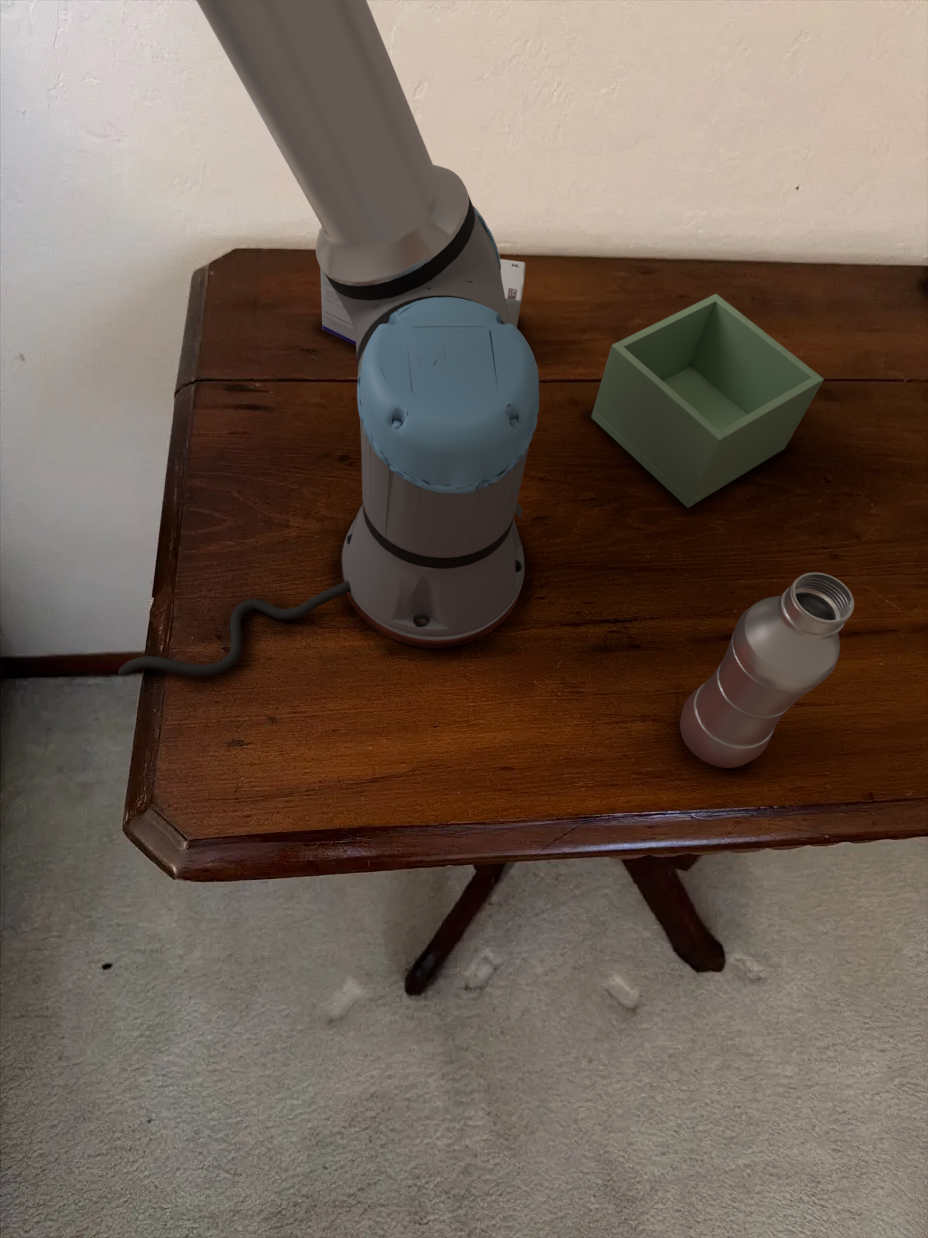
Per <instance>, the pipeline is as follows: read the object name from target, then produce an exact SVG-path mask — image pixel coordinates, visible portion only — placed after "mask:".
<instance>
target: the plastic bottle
mask: <svg viewBox="0 0 928 1238" xmlns="http://www.w3.org/2000/svg"><path fill="white" fill-rule="evenodd" d="M854 608H855V600H854V596H853V594H852V591H850V589H849V588H848V587H847V586H846V585H845V584H844V583H843V582H842V581H841V580H839V579H838V578H836V577H835V576H832V575H830V574H828V573H823V572H815V571H814V572H807V573H804V574H802V575H800V576H799V577H797V578H796V579H795V580H794V581H793V582H792V584H791V585H790V586H789V587H788V588H786V590H784V592H783V593H782V594H781V595H777V596H771V597H767V598H763V599H761V600H759V601H757V602H755V603H754V604H752V605H751V606H750V607H748V608H747V609H745V611H744V612H743V613H742V614H741V616H739V619H738V620H737V623H736V625H735V628H734V629H733V633H732V635H731V638H730V641H729V644H728V646H727V650H726V653H725V654H724V656H723V658H722V660H721V662H720V664H719V665H718V667H717V669H716V670H715V672H714V673H712V675H711V676H710V677H709V678H708V679H707V681H706V682H704V683H702V684H701V685H700V686H699V687H698V688H696V689H695V690H694V691H693V692H692V693H691V694H690V695H689V696H688V698H687V699H686V700H685V702H684V704H683V706H682V711H681V715H680V718H679V719H680V720H679V730H680V735H681V737H682V740H683V742H684V744H685V745H686V746H687V748H688V749H689V750H690V752H691V753H692V754H693V755H694V756H696V757H697V758H699V759H700V760H701V761H703V762H704V763H707V764H709V765H712V766H714V767H717V768H724V769H731V768H732V769H733V768H738V767H742V766H745V765H746V764H748V763H750V762H752V761H754V760H755V759H757V758H758V757H759V756H760V755H762V754H763V752H764V750H766V748H767V747H768V745H769V743H770V741H771V739H772V737H773V734H774V732H775V731H774V730H775V728H776V726H777V725H778V723H779V722H780V720H781V719H782V717H783V715H784V714H785V713H786V712H787V711H788V710H789V709H790V708H791V707H792V706H793V705H795V703H796V702H797V701H798V700H799V699H801V698H802V697H803V696H805V695H806V694H808V693H809V692H811V691H812V690H813V689H815V688H816V687H818V686H819V685H820V684H821V683H823V682H824V681H825V680H826V679H827V678H829V676H830V675H831V674H832V673H833V671H835V669H836V666H837V663H838V660H839V656H840V651H841V643H840V636H839V632H840V631H841V630H842V629H843V628H844V626H845V623H846V622H847V620H848V619H849V618H850V617H851V615H852V613H853V611H854Z"/></svg>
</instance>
